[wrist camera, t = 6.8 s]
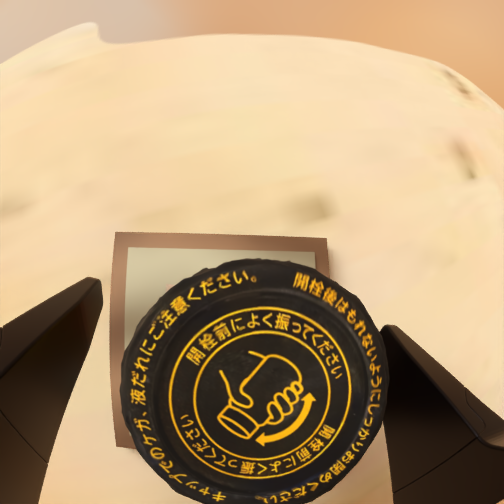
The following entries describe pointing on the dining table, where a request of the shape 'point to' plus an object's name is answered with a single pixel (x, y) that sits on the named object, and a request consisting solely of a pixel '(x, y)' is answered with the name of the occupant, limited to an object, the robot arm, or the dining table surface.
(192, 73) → the dining table surface
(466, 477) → the robot arm
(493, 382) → the dining table surface
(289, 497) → the condiment
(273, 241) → the plinth
